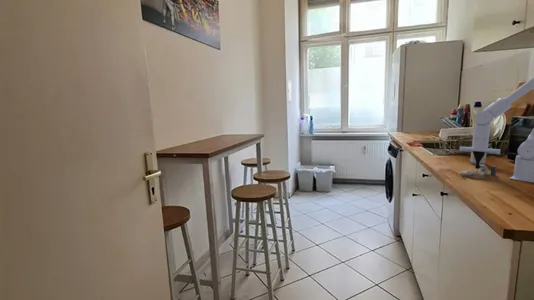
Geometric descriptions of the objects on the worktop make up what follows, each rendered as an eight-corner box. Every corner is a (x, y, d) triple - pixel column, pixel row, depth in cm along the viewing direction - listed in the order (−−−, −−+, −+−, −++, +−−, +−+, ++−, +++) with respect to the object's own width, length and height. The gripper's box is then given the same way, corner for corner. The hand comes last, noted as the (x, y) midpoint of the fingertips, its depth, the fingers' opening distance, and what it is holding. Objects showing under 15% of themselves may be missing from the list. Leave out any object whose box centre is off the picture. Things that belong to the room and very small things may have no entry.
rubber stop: (495, 174, 126) (496, 166, 125) (493, 175, 125) (495, 167, 124) (491, 174, 127) (492, 165, 127) (490, 175, 126) (491, 166, 125)
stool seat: (493, 176, 124) (494, 169, 124) (485, 180, 118) (486, 173, 117) (464, 171, 133) (465, 165, 132) (455, 175, 126) (456, 168, 126)
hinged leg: (486, 173, 123) (487, 167, 123) (480, 172, 124) (481, 166, 124) (483, 169, 130) (484, 163, 129) (477, 169, 131) (478, 163, 130)
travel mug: (488, 165, 144) (493, 125, 141) (473, 165, 146) (478, 125, 142) (481, 162, 150) (486, 124, 147) (467, 162, 152) (471, 124, 148)
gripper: (500, 138, 127) (496, 168, 129) (461, 136, 134) (457, 164, 137) (502, 140, 121) (498, 171, 123) (461, 138, 129) (457, 167, 131)
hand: (476, 168), depth 130 cm, fingers closed, pressing on hinged leg
